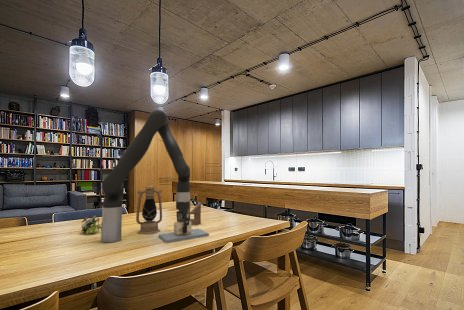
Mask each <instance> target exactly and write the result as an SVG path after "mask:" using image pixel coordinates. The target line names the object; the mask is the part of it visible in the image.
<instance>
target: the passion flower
mask: <svg viewBox="0 0 464 310" xmlns="http://www.w3.org/2000/svg"><path fill="white" fill-rule="evenodd" d="M96 217H97V215H94V216H92V217H91V218H89V217H87V216H86V217H85V218H83V220H81V223H83V224H82V225H81V227H80V228H81V231H80V232H81V233H82V232H83V234H84V233H85V234H86V236H88V235H89V234H92V233H94V232H96V231H97V230H98V232H100V230H101V223H100V218H99V217H97V218H96ZM96 223H97V224H96Z"/></svg>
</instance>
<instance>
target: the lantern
mask: <svg viewBox="0 0 464 310" xmlns="http://www.w3.org/2000/svg"><path fill="white" fill-rule="evenodd" d="M144 193H145V194H144ZM155 193H156V194H155ZM161 194H162V189H159V190H158V189H155V185H152V184H148V185H146V186H145V189H144V190H139V189H138V191H137V195H138V198H137V204H136V206H137V208H136V219H135V220H136V221H135V222H136V223H137V224H138V225H140V227H139V228H140V229H139V230H138V232H137V233H138V234H139V235H154V234H158V233H160V232H161V230H160V229H159V224H160V223H161V222H162V221H163V205H162V204H163V203H162V195H161ZM156 195H157V197H158V198H157V199H158V209H157V204H156V201H155V196H156ZM143 196H145V200H144V204H143V205H142V211H141V202H142V197H143ZM140 213H141V216H142V218H143V219H144V220H143V219H142V221H143V222H142V221H140V220H141V218H140ZM158 214H159V218H158V220H155V219H156V218H157V215H158Z"/></svg>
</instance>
